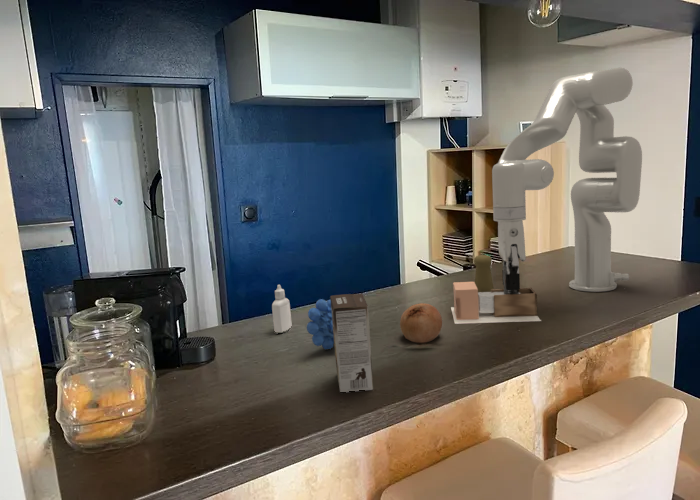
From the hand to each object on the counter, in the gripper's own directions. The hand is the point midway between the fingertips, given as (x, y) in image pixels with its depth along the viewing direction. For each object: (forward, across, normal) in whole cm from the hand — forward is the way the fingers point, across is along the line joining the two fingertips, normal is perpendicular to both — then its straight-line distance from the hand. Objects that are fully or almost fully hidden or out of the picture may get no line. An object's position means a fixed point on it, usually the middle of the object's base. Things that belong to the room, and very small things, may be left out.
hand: (511, 286), depth 129 cm
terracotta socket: (+7, 0, +10) cm, 12 cm away
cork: (+8, +26, +3) cm, 27 cm away
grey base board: (+8, 0, +4) cm, 9 cm away
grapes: (+8, -20, +43) cm, 48 cm away
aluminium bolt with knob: (+6, 0, +3) cm, 7 cm away
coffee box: (+8, -37, +36) cm, 52 cm away
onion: (+8, -16, +23) cm, 29 cm away
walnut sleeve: (+7, 0, 0) cm, 7 cm away
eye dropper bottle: (+8, -5, +58) cm, 58 cm away
